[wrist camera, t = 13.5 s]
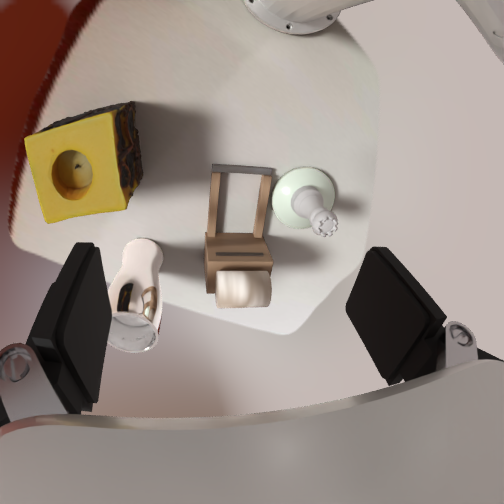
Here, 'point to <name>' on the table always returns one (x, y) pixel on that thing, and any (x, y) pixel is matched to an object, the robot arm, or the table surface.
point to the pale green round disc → (290, 185)
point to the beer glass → (136, 298)
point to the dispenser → (238, 250)
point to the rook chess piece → (314, 210)
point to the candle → (86, 163)
